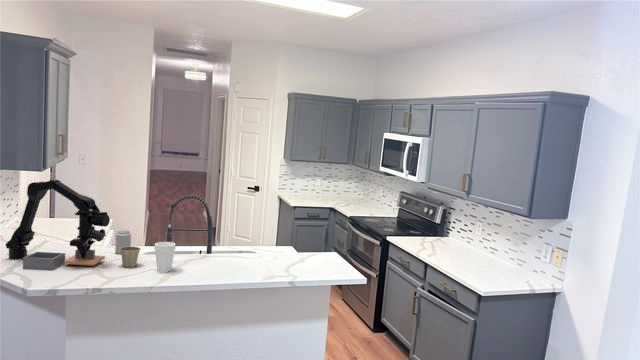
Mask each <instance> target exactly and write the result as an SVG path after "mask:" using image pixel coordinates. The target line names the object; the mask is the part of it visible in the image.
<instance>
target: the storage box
mask: <svg viewBox="0 0 640 360" xmlns="http://www.w3.org/2000/svg"><path fill="white" fill-rule="evenodd" d="M64 260H66V253H65V252H50V251H35V252H33V253H31V254H29V255H28V254H27V256H26V257H23V259H22V269H23V270H33V271H35V270H38V271H54V270H57V269H58V268H60V267H62V266H64V265H65V264H66V263H64Z"/></svg>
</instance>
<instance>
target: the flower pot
mask: <svg viewBox="0 0 640 360" xmlns="http://www.w3.org/2000/svg"><path fill="white" fill-rule="evenodd" d="M120 251H121V254H120V255H121V263H122V267H124V268H127V267H129V268H133V267H136V266H137V264H138V258H139V253H140V251H141V247H139V246H131V247H122V248H120Z"/></svg>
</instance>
